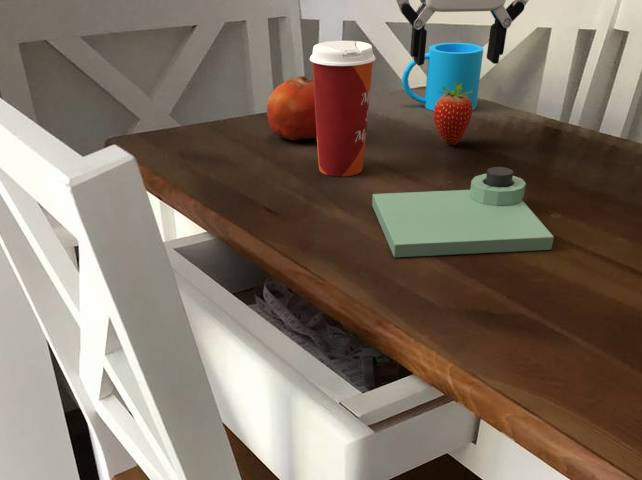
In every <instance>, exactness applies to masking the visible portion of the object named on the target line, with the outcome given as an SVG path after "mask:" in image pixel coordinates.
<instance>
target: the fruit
mask: <svg viewBox="0 0 642 480" xmlns="http://www.w3.org/2000/svg"><path fill="white" fill-rule="evenodd" d="M443 90H444V91H446V92H448V93H444V94H445V95H443V96H442V97H441V98H440V99H439V100H438V101H437V103H436V105H435V108H434V111H433V115H432V116H433V123H434V126H435V128H436V130H437V132H438V135H439V136H440V138H441V140H442V141H443V142H444V143H445V144H447V145H449V146H456V145H457V144H459V142H460V141H462V139H463V138H464V135H465V134H466V131H467V128H468V127H469V125H470V122H471V120H472V117H473V111H474V110H473V106H472V102H471V100H470V99H469V97H468V96H466V95H468V94H471V93H472V92H473V90H474V89H473V90H472V91H470V92H467V93H460V92H459V91H461V90H462V82H461V83H460V84H459V85H458V86H457V87H456V82H455V88H454V91H450V90H448V89H446V88H445V87H444V86H443ZM438 92H440V91H438ZM441 93H443V92H441ZM464 94H465V95H464Z"/></svg>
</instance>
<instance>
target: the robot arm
mask: <svg viewBox="0 0 642 480" xmlns="http://www.w3.org/2000/svg"><path fill="white" fill-rule="evenodd" d="M529 1H530V0H513V1H512V2H511V3H510V4H509V5H508V6H507V7H506V8H505V4H506V2H507V0H419V2H420V4H419V6H418V7H417V8H416V10H415V9H414V8H413V7H412V5H411V4H410V1H409V0H396V3H397V6H398V8H399V11H400V13H401V14H402V15H403V16H404V18H405V19H406V20H407V21H408V22H409V25H411V39H410V50H409V54H410V57H411V58H413V59H414V61H415V63H416V66H423V65H424V64H425V60H426V59H425V54H426V46H427V37H428V31H427V29H426V28H425V27H426V23H428V21H429V20H430V19H431V18H432V16H433V15H434V14H435V12H438V13H459V12H460V13H461V12H464V13H465V12H467V13H469V12H490V13H491V15H492V17H493V19H494V23H492V25H491V26H490V29H489V35H488V43H487V51H486V59H487V60H488V61H489V62H491V63H492V64H493V65H495V64H497V65H498V64H499V61H500V57H501V56H503V54H504V51H505V44H506V38H507V31H508V29H509V28H510V27H511V25H512V23H513V22H514V21H515V20H516V19H517V18H518V17H519V16H520V15H521V14H522V13H523V11H524V10H525V7H526V5H527V4H528V3H529ZM424 59H425V60H424Z"/></svg>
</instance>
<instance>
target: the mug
mask: <svg viewBox="0 0 642 480" xmlns="http://www.w3.org/2000/svg"><path fill="white" fill-rule="evenodd" d="M483 57H484V47H483V46H481V45H478V44H476V43H475V44H474V43H466V42H443V43H435V44H432V45H430V46H429V47H428V52H425V59H424V61H425V60H427V68H426V69H427V71H426V82H425V95H424V96H425V97H423V96H421V95H418V94H417V93H415V92H414V91H413V90H412V88H411V87H410V84H409V76H410V73H411V71H412V70H413V68H414V67H415V66H417V64H416V63H415V61H414V58H413V59H412V60H411V61H410V62H408V64H407V65H406V67H405V68H404V70H403V72H402V77H401V83H402V88H403V90H404V91H405V93H406V95H408V96H409V98H411V99H412V100H414V101H416V102H418V103H421V104H423V106H424V107H425V109H427V110H430V111H433V112H434V108H435V105H436V103H437V101H438V100H439V99H440V98H441V97H442V96H443V95H445V94H444V93H448V92H446V91H444V90H443V86H444V87H445V88H446V89H448V90H450V91H454V88H455V82H456V87H457V86H458V85H459V84H460V83H461V82H462V90H461V91H459V92H460V93H467V92H470V91H472V90H473V89H474V90H473V92H472V93H471V94H468V95H466V96H468V97H469V99H470V100H471V102H472V106H473V111H474V110H475V109H477V104H478V97H479V89H480V79H481V72H482V65H483V64H482V63H483ZM438 91H440V92H438ZM441 92H443V93H441ZM464 95H465V94H464Z"/></svg>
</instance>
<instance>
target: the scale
mask: <svg viewBox="0 0 642 480" xmlns="http://www.w3.org/2000/svg"><path fill="white" fill-rule="evenodd" d="M486 175H487V173H482V174H479V175H475V176H474V177H473V178H472V179H471V181H470V189H457V190H456V189H455V190H454V189H453V190H433V191H411V192H409V191H408V192H389V193H385V192H384V193H373V194H372V202H371V207H372V209H373V211H374V213H375V216H376V218H377V221H378V223H379V225H380V228H381V230H382V233H383V234H384V238H385V240H386V242H387V244H388V246H389V249H390V251H391V254H392V256H393V258H415V257H431V256H433V257H434V256H452V255H454V256H455V255H474V254H475V255H476V254H494V253H495V254H497V253H512V252H513V253H514V252H533V251H535V252H536V251H551V250H552V248H553V243H554V239H555V237H554V235H553V234H552V233H551V232H550V231H549V229H548V228H547V227H546V226H545V225H544V224H543V223H542V221H541V220H540V219H539V217H538V216H537V215H536V214H535V213H534V212H533V211H532V209H530V208H529V206H528V205H527V204H526V203H525V202H524V200H523V199H524V198H525V197H524V196H525V193H526V187H527V182H525V180H524V179H523V178H521V177H519V176H515V175H513V178H512V184H511V186H509V187H500V188H499V187H491V186H489V185H486V184H485V182H486Z"/></svg>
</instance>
